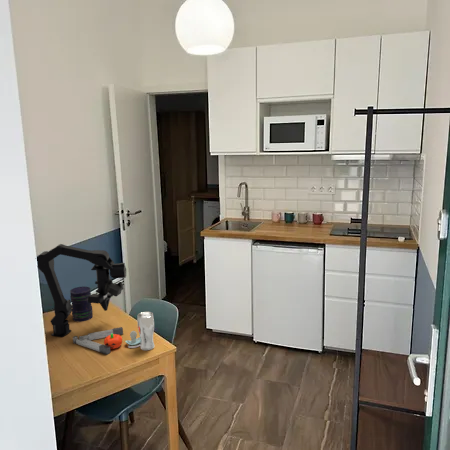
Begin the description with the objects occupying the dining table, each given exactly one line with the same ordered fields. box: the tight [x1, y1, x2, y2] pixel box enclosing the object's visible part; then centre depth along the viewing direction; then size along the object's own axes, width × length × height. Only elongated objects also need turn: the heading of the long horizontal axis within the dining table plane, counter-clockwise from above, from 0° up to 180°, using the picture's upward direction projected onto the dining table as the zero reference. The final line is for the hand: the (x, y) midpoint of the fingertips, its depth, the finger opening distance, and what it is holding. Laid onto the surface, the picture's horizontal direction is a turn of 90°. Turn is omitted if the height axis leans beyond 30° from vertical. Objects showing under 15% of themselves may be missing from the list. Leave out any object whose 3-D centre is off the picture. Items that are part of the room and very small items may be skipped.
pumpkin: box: [103, 334, 123, 350], centre depth 179 cm, size 7×8×6 cm
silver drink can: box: [137, 311, 155, 351], centre depth 177 cm, size 7×7×15 cm
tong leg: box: [78, 326, 124, 341], centre depth 188 cm, size 19×2×3 cm, turn 113°
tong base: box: [72, 335, 111, 356], centre depth 178 cm, size 22×2×3 cm, turn 59°
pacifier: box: [124, 330, 141, 349], centre depth 180 cm, size 7×6×6 cm
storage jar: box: [69, 286, 94, 323], centre depth 208 cm, size 10×10×15 cm
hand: (105, 310), depth 192 cm, fingers closed
